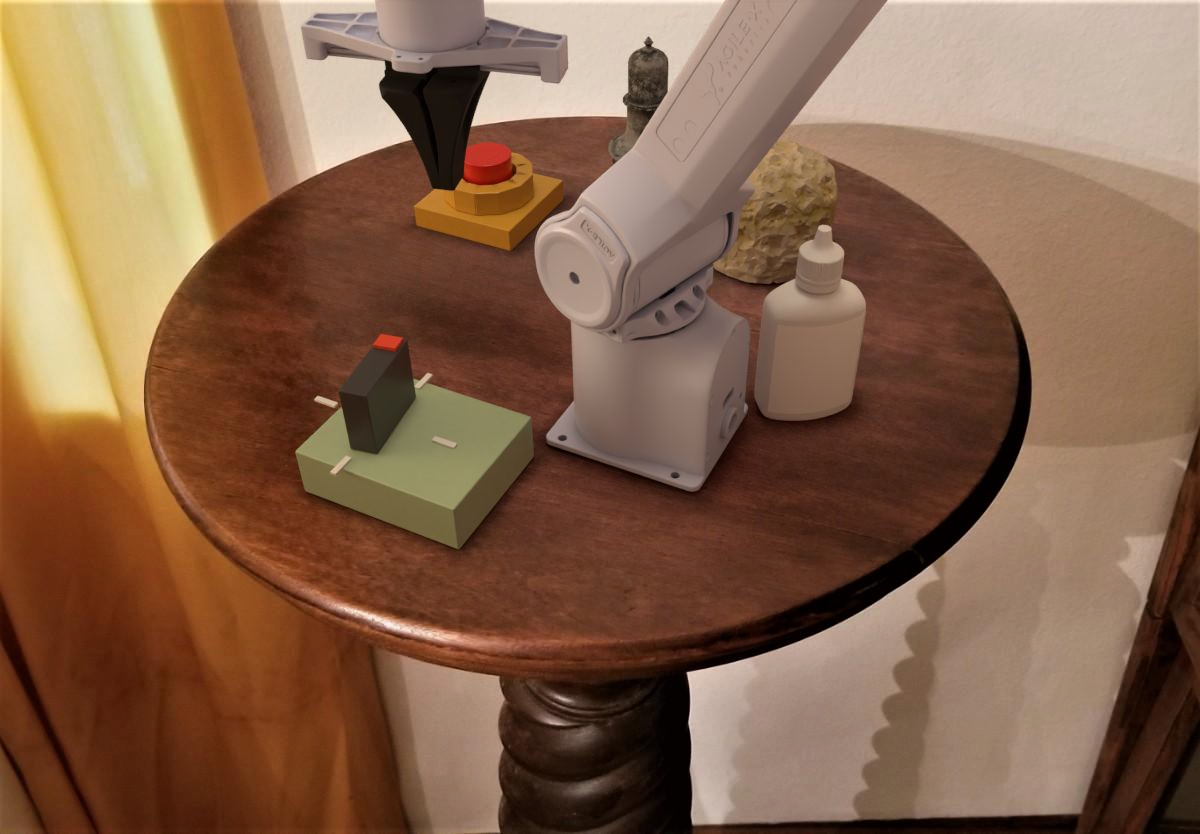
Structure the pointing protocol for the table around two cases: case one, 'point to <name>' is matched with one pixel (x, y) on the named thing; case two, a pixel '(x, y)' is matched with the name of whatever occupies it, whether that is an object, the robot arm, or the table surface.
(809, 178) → the coral
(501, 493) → the panel
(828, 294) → the eye dropper bottle
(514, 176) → the button box
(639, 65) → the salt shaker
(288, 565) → the table surface
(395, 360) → the knob
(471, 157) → the button
